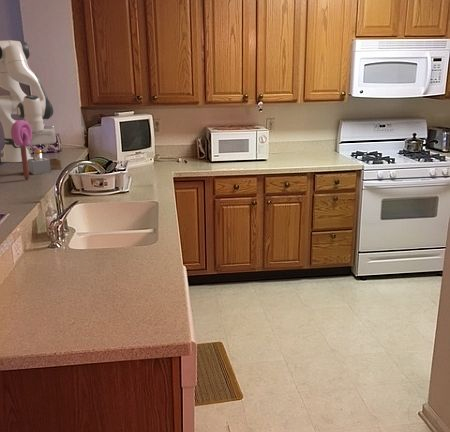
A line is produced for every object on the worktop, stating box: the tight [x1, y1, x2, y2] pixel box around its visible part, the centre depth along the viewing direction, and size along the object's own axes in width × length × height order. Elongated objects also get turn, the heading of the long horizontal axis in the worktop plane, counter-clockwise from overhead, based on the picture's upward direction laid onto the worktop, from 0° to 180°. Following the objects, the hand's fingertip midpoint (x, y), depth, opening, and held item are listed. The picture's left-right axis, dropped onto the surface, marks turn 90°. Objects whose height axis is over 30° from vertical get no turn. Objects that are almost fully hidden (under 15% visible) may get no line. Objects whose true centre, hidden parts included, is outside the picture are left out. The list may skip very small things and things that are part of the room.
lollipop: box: [11, 119, 32, 181], centre depth 245 cm, size 13×8×30 cm, turn 167°
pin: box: [33, 149, 44, 161], centre depth 267 cm, size 4×4×12 cm
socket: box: [27, 157, 52, 175], centre depth 267 cm, size 9×9×7 cm
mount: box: [48, 158, 62, 171], centre depth 277 cm, size 7×7×5 cm
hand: (37, 152), depth 265 cm, fingers open, 6 cm apart
